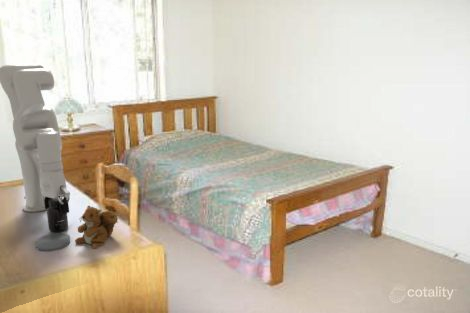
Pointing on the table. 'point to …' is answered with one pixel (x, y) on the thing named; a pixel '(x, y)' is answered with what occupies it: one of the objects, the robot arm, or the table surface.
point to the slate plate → (52, 241)
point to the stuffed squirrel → (96, 226)
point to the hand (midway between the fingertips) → (57, 210)
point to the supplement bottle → (56, 217)
